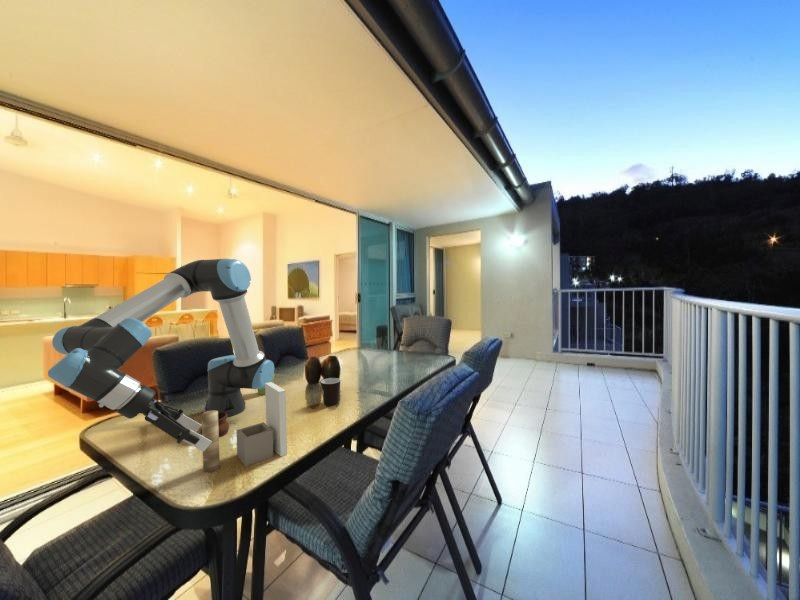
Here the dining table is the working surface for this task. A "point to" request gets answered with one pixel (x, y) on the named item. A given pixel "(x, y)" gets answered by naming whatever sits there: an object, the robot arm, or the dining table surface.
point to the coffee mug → (330, 391)
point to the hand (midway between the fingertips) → (202, 437)
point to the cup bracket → (265, 430)
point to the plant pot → (262, 391)
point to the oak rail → (211, 433)
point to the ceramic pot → (222, 424)
